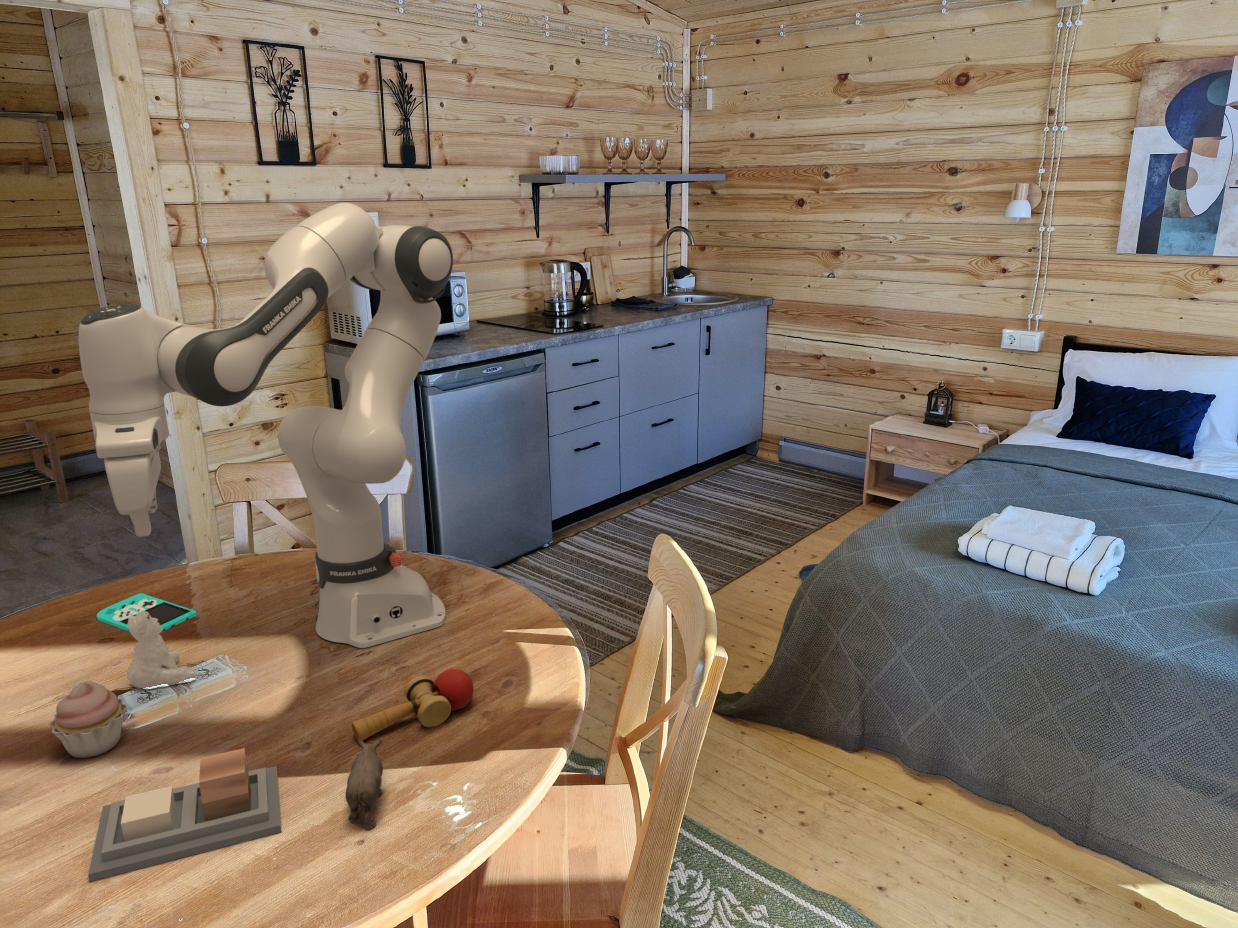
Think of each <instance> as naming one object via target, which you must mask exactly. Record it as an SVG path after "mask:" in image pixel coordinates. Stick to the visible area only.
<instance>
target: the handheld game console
mask: <svg viewBox="0 0 1238 928" xmlns="http://www.w3.org/2000/svg"><path fill="white" fill-rule="evenodd" d="M142 611H145V612H146V611H147V612H148V613H149V615H150V616H151V617H152V618H157V619H158V621H157V622H158V623H159V624H160V626H161V627H162V629H163V631H162V632H160V633H159V634H161V633H163V632H164V631H167V630H169V629H170V628H173V627H175V626H176V625H179V624H180V623H183V622H186V620H189V619H191V618H194V617H196V616H197V615H198V614H197V611H196V610H194V609H191V608H188V607H184V606H181V605H178V604H175V603H172V602H169V601H167V600H163V599H160V598H158V597H155V596H151V595H147V594H145V593H142V592H141V593H140V592H139V593H138V594H135V595H132V596H130V597H128V598H126V599H123V600H121V601H118V602H117V603H114V604H112V605H109V606H107V607H105V608H103V609H102V610H100V611H99V612H97V614H96V620H98V621H99V622H102V623H105V624H108V625H109V626H110V625H111V626H113V627H116V628H119V629H121V630H125V631H127V632H129V633H130V631H129V626H128V625H127V624H128V618H129V616H136V614H138V613H139V612H142Z"/></svg>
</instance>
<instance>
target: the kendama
mask: <svg viewBox="0 0 1238 928" xmlns="http://www.w3.org/2000/svg"><path fill="white" fill-rule="evenodd" d="M474 688H475V687H474V683H473V680H472V677H470V675H469V674H468V673H467V672H466V671H464V670H462V669H457V668H451V669H447V670H445V671H443V672H442V673H440V674H439V675H438V676H437V677H436V679H435V681H434V680H432V679H431V677H429V676H427V675H418V676H415V677H414V678H412V679H411V680H410V681H408V682H407V684H406V686H405V688H404V696H405V698H406V699H407V702H404V703H401V704H398V705H394V706H391V707H389V708H386V709H384V710H381V711H378V712H376V713H374V714H371V715H368V716H365V717H363V718H360V719H356V720H354V721H352V722H351V728H352V731H353V734H354V736H355V737H354V738H355V739H356V740H357V741H358V739H361V740H362V741H363V742H364V741H365V740H366V739H368V738H370V737H371V736H374V735H376V734H377V733H379V732H381V731H383V730H384V729H387V728H388V727H390V726H392V725H394V724H396V723H398V722H399V721H401V720H403V719H405V718H406V717H407V716H409V715H411V714H413V712H416V711H417V715H416V716H417V719H418V720H419V722H420V723H421V725H422V726H423V727H425V728H432V727H433V728H434V727H436V726H439V725H441V724H443V723H444V722H445V721H446V720H447V719H448V718H449V717H450V714H451V712H452V711H457V710H460V709H463V708H464V707H466V706H467V705H468V703H470V701H471V699H472V698H473V696H474V695H473V694H474Z"/></svg>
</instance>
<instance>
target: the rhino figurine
mask: <svg viewBox="0 0 1238 928" xmlns="http://www.w3.org/2000/svg"><path fill="white" fill-rule="evenodd" d="M382 743H383V740H382V738H381V737H380V738H378V739H377V740H376V741H375V742H374V743H372V741H371V740H369V741H368V743H365V742H364V740H363V741H362V740H361V739H358V740H357V746H359V747H360V748H361V751H360V752H359V754H358V755H357V756H356V758H355V759H354V760H353V762H352V764H351V769H350V773H349V775H348V777H347V782H346V788H345V800H346V803H347V806H348V807H349V808H350V815H349V816H348V817H347V820H348V821H349V823H353V824H356V823H357V822H359V820H360V817H361V815H360V812H359V810H360V809H359V808H360V804H362V807H363V811H364V814H363V815H364V816H363V817H364V818H363V819H364V823H363V824H364V826H363V828H364V830H367V831H368V830H372V829H374V828H375V827H376V826H377V823H376V821H375V820H374V819H373V814H374V808H375V805H376V804H377V800H378V797H379V796H381V795H383V793H384V792H383V790H382V789H381V787H382V780H383V779H382V777H383V773H384V766H383V763H382V761H381V759H380V758H379V756H378V753H377V748H378V747H380V745H382Z"/></svg>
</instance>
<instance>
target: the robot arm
mask: <svg viewBox="0 0 1238 928" xmlns="http://www.w3.org/2000/svg"><path fill="white" fill-rule="evenodd" d="M263 262H264V263H263V264H264V272H265V276H266V280H267V281H268V283H269V285H270V286H271V288H272V289H273V290H272V292H271V293H270V294H269V295H268V296H267V297H266V298H265V299H263V300H262V301H261V302H260V303H259V304H258V305H257V306H256V307H255V308H253V310H251V311H250V312H249V313H248V314H247V315H246V316H245V317H243V319H242V320H241V321H239V322H238V323H236V324H234V325H231V326H227V327H223V328H217V329H211V328H206V327H202V326H198V325H192V324H187V323H183V322H179V321H176V320H171V319H168V318H165V317H162V316H159V315H157V314H154V313H152V312H150V311H148V310H147V309H145V308H144V307H143V306H142V305H139V304H134V303H122V304H117V305H116V304H113V305H109V306H104V307H100V308H97V309H95V310H92V311H90V312H89V313H87V314H86V315H84V316H83V317H82V319H81V320H80V323H79V326H78V351H79V352H78V353H79V358H80V365H81V371H82V377H83V380H84V382H85V384H86V385H87V388H88V392H89V403H88V409H89V416H90V422H91V425H92V432H93V438H94V444H95V451H96V455H97V456H96V457H98V459H103V462H104V463H103V464H104V468H105V472H106V473H105V474H106V476H107V480H108V484H109V488H110V491H111V496H112V498H113V499H112V500H113V502H114V504H115V505H114V506H115V507H116V510H117V511H118V513H119V514H120V515H122V516H123V515H129V517H130V520H131V522H132V525H133V527H134V528H133V529H134V533H135V535H136V537H138V538H141V537H148V536H150V535H151V533H152V526H151V525H152V524H151V519H150V515H149V514H153V513H155V512H157V509H158V502H157V490H156V489H157V485H158V481H159V477H160V475H161V470H162V464H161V458H160V450H161V448H162V446H161V445H162V444H161V443H162V442H163V441H164V440H167V439H168V438H169V436H170V431H169V425H168V424H169V423H168V419H167V412H166V411H167V410H166V405H165V397H166V395H167V394H169V393H170V394H171V393H175V392H176V393H179V394H181V395H185V396H189V397H193V398H195V399H197V400H198V401H201V402H203V403H204V404H207V405H211V406H213V407H214V406H215V407H228V406H233V405H236V404H239V403H241V402H243V401H244V400H246V398H248V397H250V395H251V394H252V393H253V392H254V391H255V389H256V388H257V386H258V385H259V383H260V381H261V379H262V377H263V376H264V373H265V372H266V370H267V368H268V367H269V366H270V364H271V362H272V361H273V359H275V357H277V355H278V354H279V353H280V352H281V351H282V350H284V348H285V347H286V346H287V345H288V344H289V343H290V342H291V341H292V340H293V339H294V338H295V337H296V336H297V335H298V334H299V333H300V332H301V331H302V330H303V329H304V328H305V327H306V326H307V325H308V324H309V323H310V322H311V321H312V320H313V319H314V318H315V317H316V316H317V314H319V312H320V311H321V310H322V308H323V307H324V305H325V304H326V302H327V300H328V299H329V298H330V297H331V296H332V295H334V293H335V292H336V291H338V290H339V289H340V288H341V287H342V286H344V285H345V284H346V283H347V282H349V281H350V282H352V283H353V284H355V285H357V286H358V287H360V288H364V289H367V290H370V291H371V290H374V291H375V290H377V291H380V299H379V304H378V309H377V311H376V313H375V315H374V316H373V318H372V320H370V322H369V324H368V325H367V327H366V328H365V331H364V332H363V335H361V337H360V339H359V341H358V343H357V345H356V347H355V348H354V350H353V352H352V354H351V356H350V357H349V359H348V360H347V362H346V364H345V367H344V375H345V378H346V381H347V382H348V384H349V389H348V393H347V394H348V395H347V398H346V402H345V404H344V406H343V407H342V409H337V408H333V407H329V406H324V405H307V406H301V407H297V408H294V409H292V410H290V411H289V412H288V413H287V414H285V416H284V417H283V419H282V420H281V422H280V424H279V427H278V431H277V441H278V445H279V447H280V449H281V451H282V452H283V453H284V455H285V456H286V457H287V459H289V461H290V463H291V464H292V465H293V467H294V469H295V471H296V474H297V477H298V478H299V481H300V482H301V485H302V488H303V491H304V492H305V495H306V498H307V500H308V501H307V502H308V504H309V507H310V510H311V514H312V520H313V527H314V535H315V542H316V543H315V544H316V552H315V556H314V557H315V560H314V567H315V575H316V583H317V585H318V586H319V600H318V601H319V605H318V614H317V619H316V623H315V632H316V634H317V635H318V636H319V637H320V638H322V639H324V640H327V641H329V642H333V643H334V642H335V643H340V644H341V643H342V644H347V645H350V646H353V647H355V648H358V649H367V648H369V647H374V646H376V645H380V644H383V643H387V642H390V641H393V640H397V639H401V638H405V637H408V636H412V635H414V634H415V635H416V634H419V633H422V632H425V631H429V630H432V629H436V628H440V627H441V626H443V624H444V623H445V622H446V618H447V613H446V612H447V611H446V607H445V605H444V603H443V601H442V599H441V598H440V597H439V596H437V595H436V593H433V592H431V590H430V586H429V585H428V583H427V581H426V580H425V579H424V577H423V576H422V575H421V574H420V573H419V572H417V571H415V570H413V569H411V568H409V567H407V566H404V565H403V558H402V556H401V554H400V553H398V552H397V550H396V548H395V547H393V545H392V544H391V543H390V542H387V544H386V543H384V534H383V533H384V532H383V521H382V510H381V506H380V503H379V501H378V500H377V498H376V497H375V496H374V495H373V493H372V492H371V490H370V489H369V487H368V486H367V485H368V484H370V485H371V484H375V485H376V484H385V483H388V482H390V481H392V480H393V479H394V478H395V477H397V476H398V474H399V473H400V472H401V470H402V469H403V467H404V464H405V462H406V458H407V457H406V456H407V444H406V442H405V441H406V440H405V438H404V436H403V434H402V431H401V420H402V419H401V418H402V413H403V409H404V404H405V401H406V398H407V396H408V394H409V392H410V390H411V388H412V385H413V383H414V382H415V379H416V378H417V376H418V374H419V372H420V370H421V368H422V366H423V365H424V363H425V360H426V358H427V357H428V355H429V352H430V350H431V348H432V346H433V343H434V342H435V338H436V335H437V332H438V330H439V326H440V323H441V319H442V313H441V308H440V306H439V304H438V302H437V301H436V300H438V299H439V298H441V296H442V295H443V294H444V293H445V290H446V285H447V284H448V282H449V280H450V278H451V274H452V270H453V264H454V254H453V250H452V245H451V244H450V242H449V240H448V238H446V236H445V235H444V234H442V233H441V232H439V231H437V230H435V229H433V228H431V227H426V226H422V225H415V226H413V225H412V226H411V225H404V224H391V225H382V226H379V225H378V226H377V225H376V223H375V221H374V219H373V218H372V217H371V215H370V214H369V213H368V212H367V211H366V210H364V209H363V208H362V207H360V206H359V205H357V204H354V203H351V202H339V203H335V204H333V205H330V206H328V207H326V208H323V209H321V210H319V211H318V212H315V213H314V214H312V215H310V216H309V217H307V218H305V219H304V220H302V221H301V222H299V223H297V224H296V225H295V226H293V227H292V228H290V229H289V230H287V231H286V232H285V233H284V234H283V235H281V236H280V237H279V238H278V239H277V240H276V241H275V242H274V243H273V244H272V245H271V247H269V249H268V250H267V252H266V253H265V257H264V261H263Z"/></svg>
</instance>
